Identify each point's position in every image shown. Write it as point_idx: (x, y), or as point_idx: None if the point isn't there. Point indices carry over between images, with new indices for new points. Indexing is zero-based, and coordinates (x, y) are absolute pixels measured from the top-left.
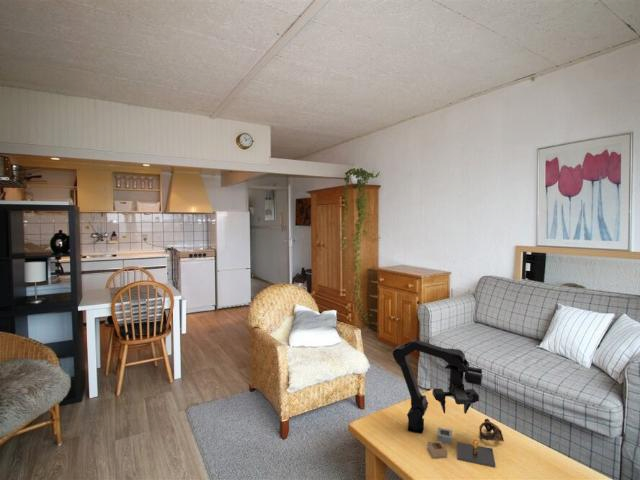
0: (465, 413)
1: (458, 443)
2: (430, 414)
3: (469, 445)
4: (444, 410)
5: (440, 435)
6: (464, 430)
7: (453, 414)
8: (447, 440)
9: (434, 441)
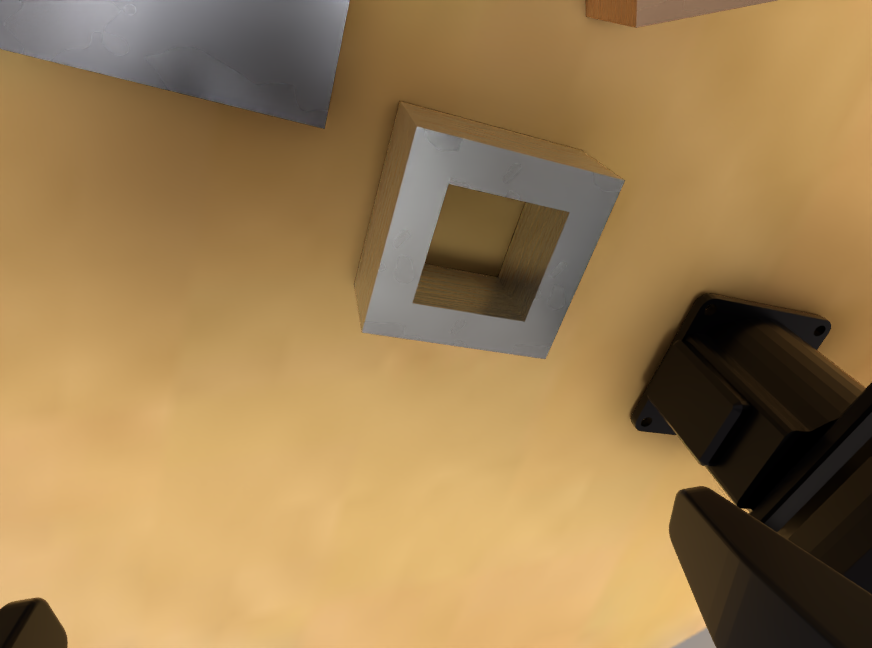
0: (15, 609)
1: (308, 81)
2: (483, 583)
3: (118, 35)
4: (778, 559)
5: (581, 184)
6: (159, 422)
7: (248, 630)
8: (472, 132)
9: (746, 5)
